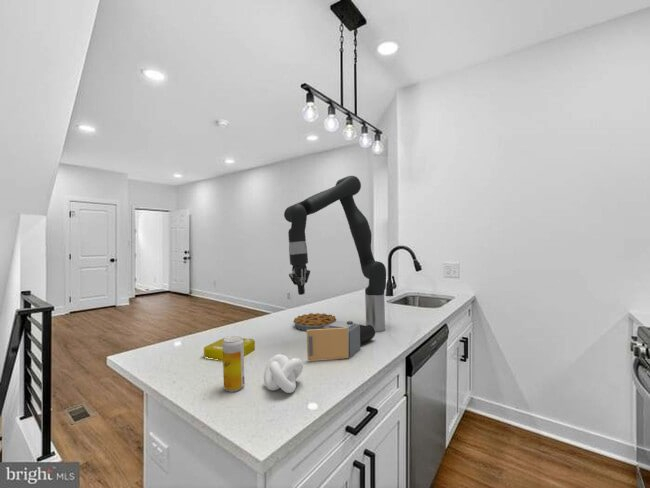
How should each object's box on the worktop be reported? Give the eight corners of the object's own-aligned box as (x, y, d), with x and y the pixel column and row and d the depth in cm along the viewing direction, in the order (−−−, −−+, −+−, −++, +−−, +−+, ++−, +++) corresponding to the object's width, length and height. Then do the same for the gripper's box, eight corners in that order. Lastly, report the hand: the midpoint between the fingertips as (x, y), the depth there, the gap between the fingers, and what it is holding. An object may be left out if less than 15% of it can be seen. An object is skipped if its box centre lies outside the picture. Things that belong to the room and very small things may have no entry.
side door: (307, 359, 112) (306, 329, 112) (349, 356, 114) (348, 327, 114) (307, 361, 110) (307, 331, 110) (350, 358, 112) (349, 329, 112)
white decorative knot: (303, 397, 86) (302, 366, 86) (260, 400, 85) (259, 368, 85) (303, 379, 98) (302, 351, 97) (265, 381, 97) (264, 353, 97)
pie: (311, 318, 172) (311, 309, 172) (344, 324, 159) (344, 314, 159) (284, 328, 155) (284, 318, 154) (319, 335, 142) (319, 324, 142)
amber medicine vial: (226, 383, 96) (225, 336, 96) (246, 382, 96) (244, 335, 96) (221, 393, 90) (220, 342, 89) (242, 392, 90) (241, 341, 90)
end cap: (361, 347, 125) (361, 331, 125) (348, 343, 130) (347, 327, 129) (375, 341, 132) (375, 325, 132) (362, 337, 137) (362, 322, 137)
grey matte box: (334, 345, 128) (334, 318, 128) (360, 349, 123) (359, 321, 122) (323, 353, 119) (322, 324, 119) (350, 358, 114) (349, 328, 114)
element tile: (201, 359, 117) (201, 346, 117) (227, 346, 131) (226, 334, 131) (233, 364, 112) (233, 351, 112) (256, 349, 126) (256, 338, 126)
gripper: (299, 252, 135) (302, 291, 135) (281, 254, 123) (284, 297, 123) (314, 251, 131) (317, 291, 131) (296, 253, 120) (300, 297, 120)
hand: (301, 294), depth 127 cm, fingers closed
